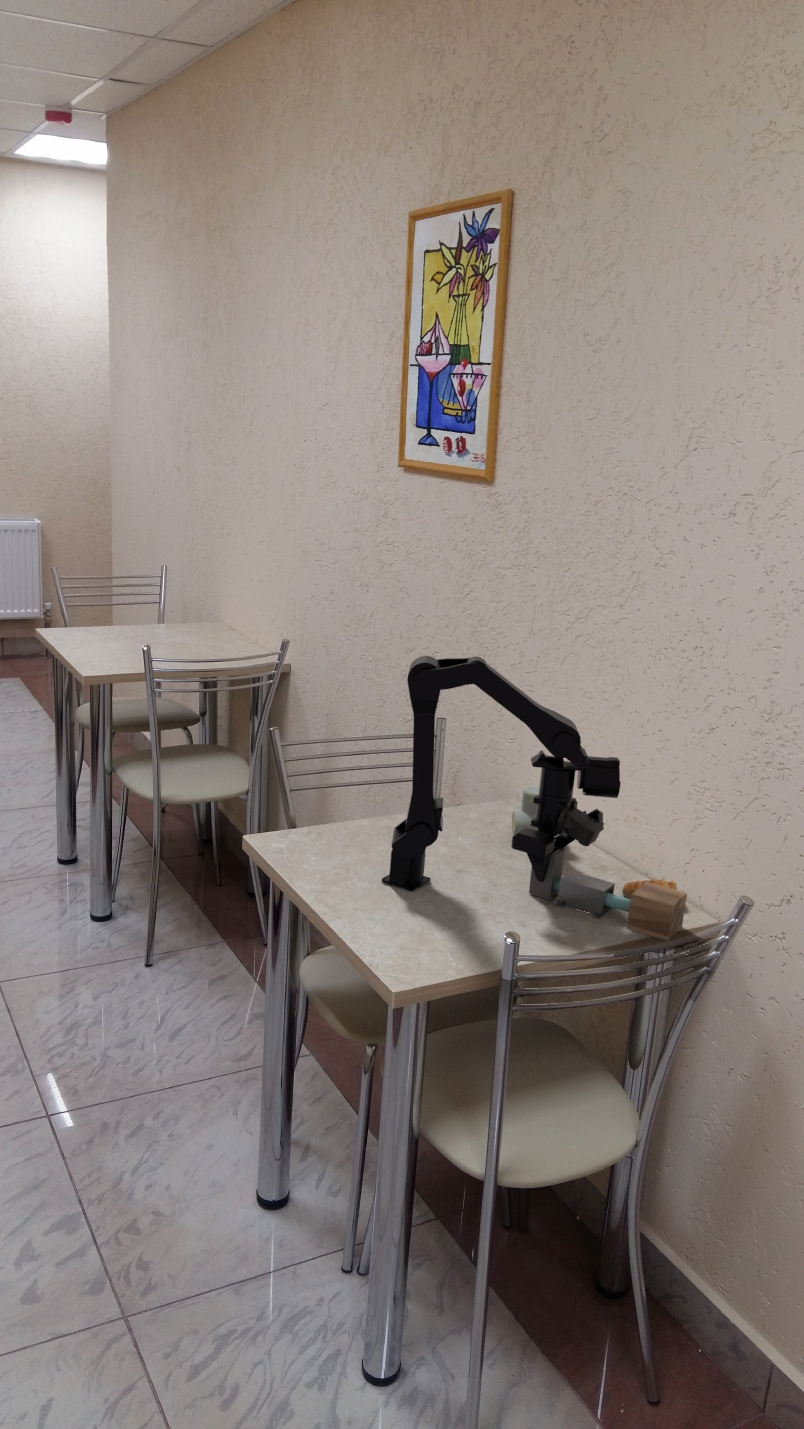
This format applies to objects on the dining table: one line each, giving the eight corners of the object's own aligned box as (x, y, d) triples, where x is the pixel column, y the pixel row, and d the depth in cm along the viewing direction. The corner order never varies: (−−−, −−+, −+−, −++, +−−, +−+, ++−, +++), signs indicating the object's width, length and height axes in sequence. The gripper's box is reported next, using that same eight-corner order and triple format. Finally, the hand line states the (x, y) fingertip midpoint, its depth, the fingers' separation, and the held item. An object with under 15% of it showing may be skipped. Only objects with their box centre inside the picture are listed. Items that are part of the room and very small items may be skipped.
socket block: (667, 940, 177) (672, 906, 176) (626, 928, 181) (631, 894, 180) (682, 926, 183) (687, 893, 182) (641, 914, 187) (646, 881, 185)
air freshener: (556, 850, 214) (562, 801, 212) (514, 846, 214) (519, 797, 211) (550, 830, 225) (555, 783, 222) (509, 827, 225) (514, 780, 222)
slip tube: (658, 932, 180) (665, 887, 178) (528, 893, 192) (533, 850, 190) (667, 924, 183) (673, 879, 181) (538, 886, 195) (543, 843, 193)
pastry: (622, 904, 191) (625, 883, 190) (620, 889, 198) (623, 869, 197) (677, 910, 190) (680, 890, 189) (674, 895, 197) (676, 875, 196)
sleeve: (598, 918, 184) (602, 893, 183) (555, 905, 188) (558, 880, 187) (613, 906, 189) (616, 881, 188) (570, 894, 193) (573, 869, 192)
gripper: (577, 817, 176) (566, 907, 180) (620, 790, 191) (610, 874, 195) (514, 800, 182) (505, 889, 185) (562, 776, 197) (552, 858, 201)
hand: (545, 877), depth 192 cm, fingers closed on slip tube, 4 cm apart
